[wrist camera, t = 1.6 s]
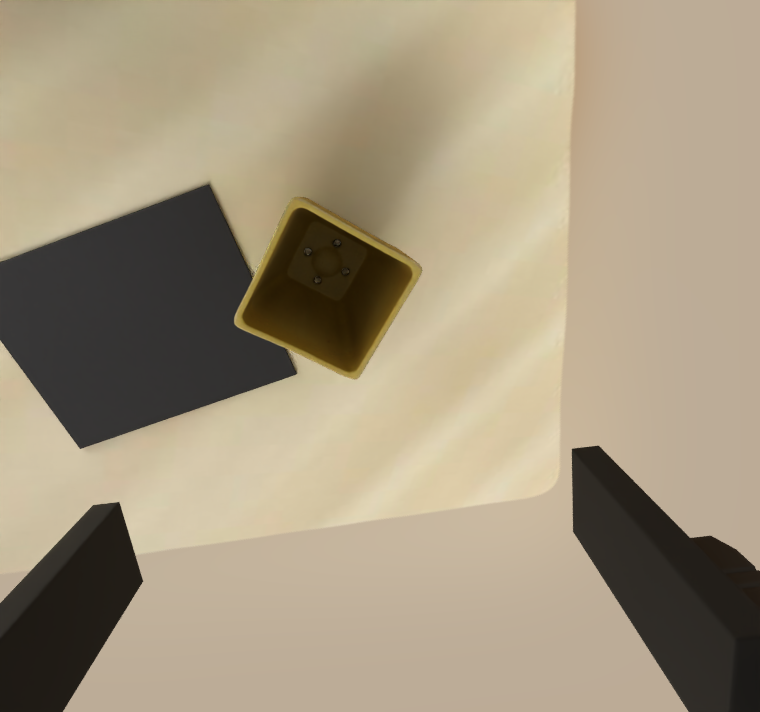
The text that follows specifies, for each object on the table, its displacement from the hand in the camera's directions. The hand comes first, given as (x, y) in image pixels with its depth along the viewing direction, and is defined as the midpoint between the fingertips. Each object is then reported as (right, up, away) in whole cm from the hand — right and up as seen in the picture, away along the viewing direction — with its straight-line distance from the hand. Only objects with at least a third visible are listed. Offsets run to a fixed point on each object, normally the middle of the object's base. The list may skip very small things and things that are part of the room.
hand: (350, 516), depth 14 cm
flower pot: (-3, +12, +24) cm, 27 cm away
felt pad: (-18, +7, +25) cm, 31 cm away
